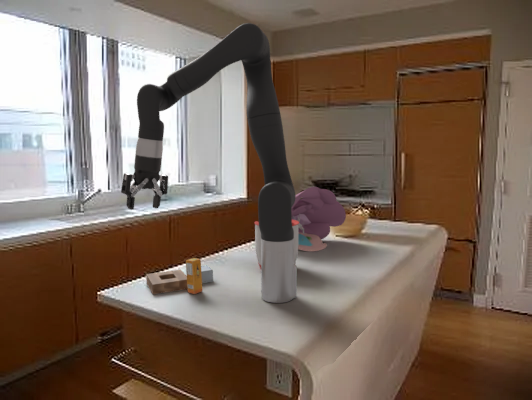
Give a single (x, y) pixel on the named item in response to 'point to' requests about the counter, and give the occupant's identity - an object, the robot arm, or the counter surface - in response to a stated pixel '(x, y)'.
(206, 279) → the wide block
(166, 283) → the hole plate
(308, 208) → the flower arrangement
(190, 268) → the supplement box
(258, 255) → the citrus juicer
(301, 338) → the counter surface
